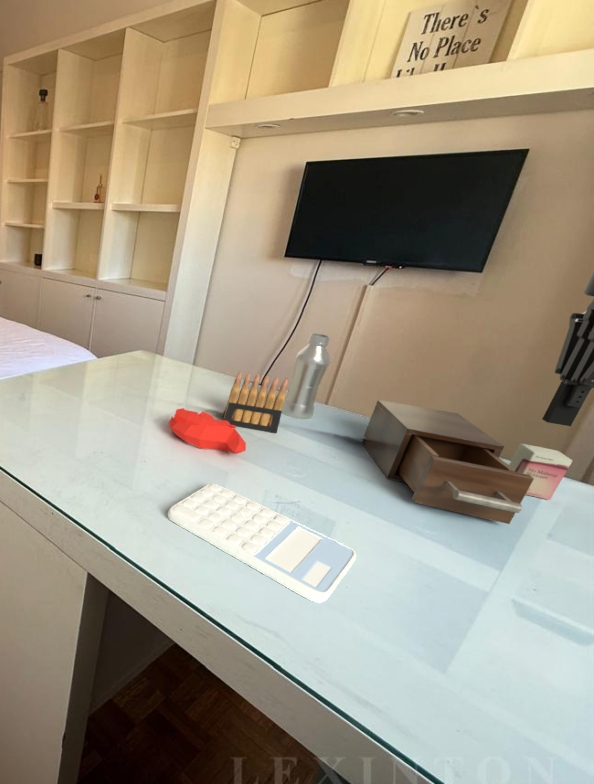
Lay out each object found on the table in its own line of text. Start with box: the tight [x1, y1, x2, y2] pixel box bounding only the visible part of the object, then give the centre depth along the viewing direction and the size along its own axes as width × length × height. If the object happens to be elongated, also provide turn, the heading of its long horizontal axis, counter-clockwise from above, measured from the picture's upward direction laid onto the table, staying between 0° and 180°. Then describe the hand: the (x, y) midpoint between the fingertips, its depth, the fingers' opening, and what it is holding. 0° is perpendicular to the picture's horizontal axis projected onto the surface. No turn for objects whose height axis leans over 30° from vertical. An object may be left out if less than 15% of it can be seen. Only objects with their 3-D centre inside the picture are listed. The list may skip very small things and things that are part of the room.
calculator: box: [167, 483, 357, 604], centre depth 61 cm, size 13×20×2 cm, turn 40°
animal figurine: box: [168, 407, 247, 455], centre depth 88 cm, size 12×15×5 cm
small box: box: [508, 443, 573, 501], centre depth 78 cm, size 5×4×8 cm
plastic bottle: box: [281, 333, 331, 420], centre depth 100 cm, size 6×7×20 cm
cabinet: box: [360, 399, 505, 483], centre depth 84 cm, size 16×13×10 cm
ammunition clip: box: [221, 371, 289, 434], centre depth 96 cm, size 11×2×12 cm, turn 72°
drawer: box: [397, 434, 534, 525], centre depth 73 cm, size 19×12×8 cm, turn 157°
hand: (556, 422), depth 72 cm, fingers closed
